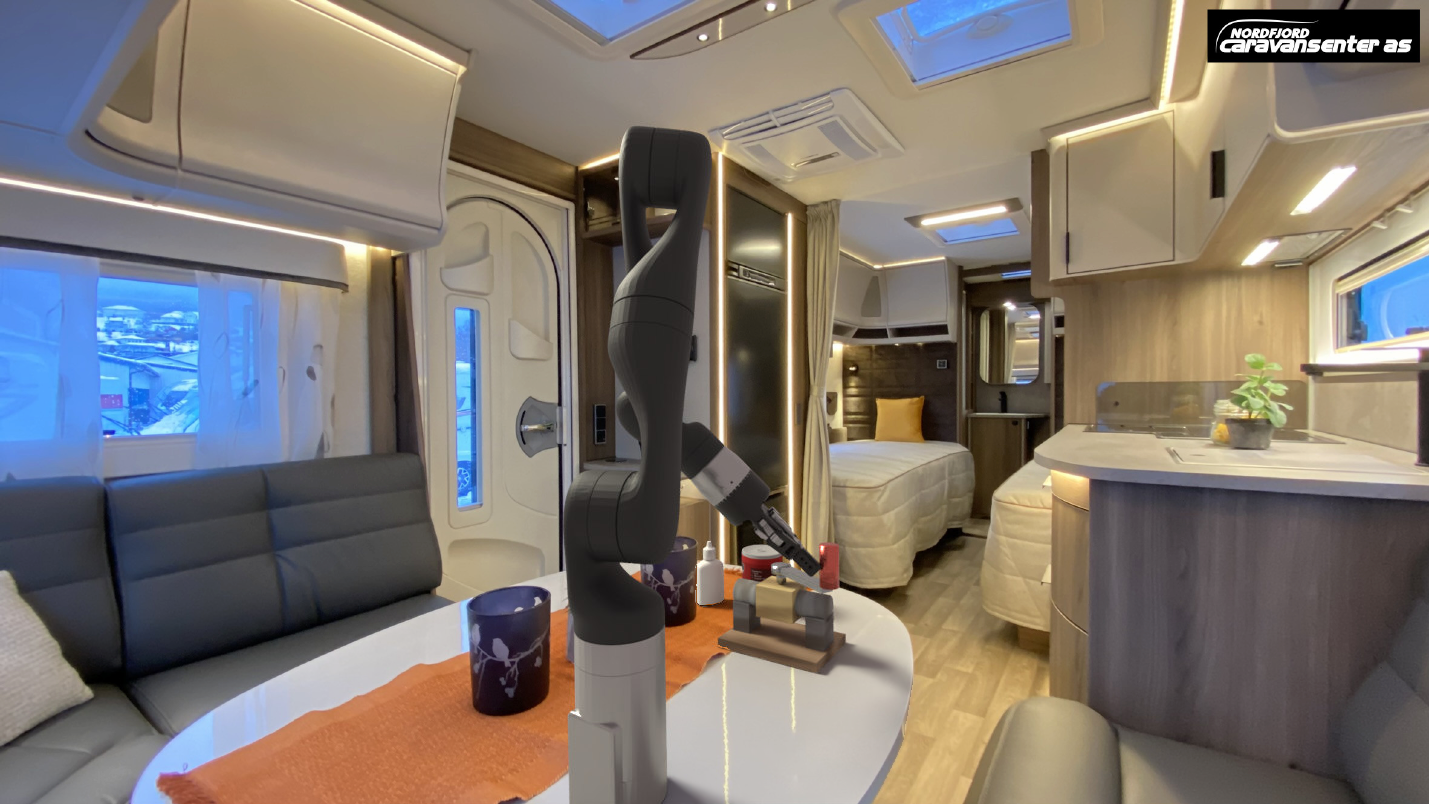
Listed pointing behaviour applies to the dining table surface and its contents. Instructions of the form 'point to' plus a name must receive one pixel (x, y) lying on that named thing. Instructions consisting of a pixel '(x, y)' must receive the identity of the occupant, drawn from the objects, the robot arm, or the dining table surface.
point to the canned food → (759, 562)
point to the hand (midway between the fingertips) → (815, 570)
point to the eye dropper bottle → (710, 577)
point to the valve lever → (826, 574)
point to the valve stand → (783, 624)
